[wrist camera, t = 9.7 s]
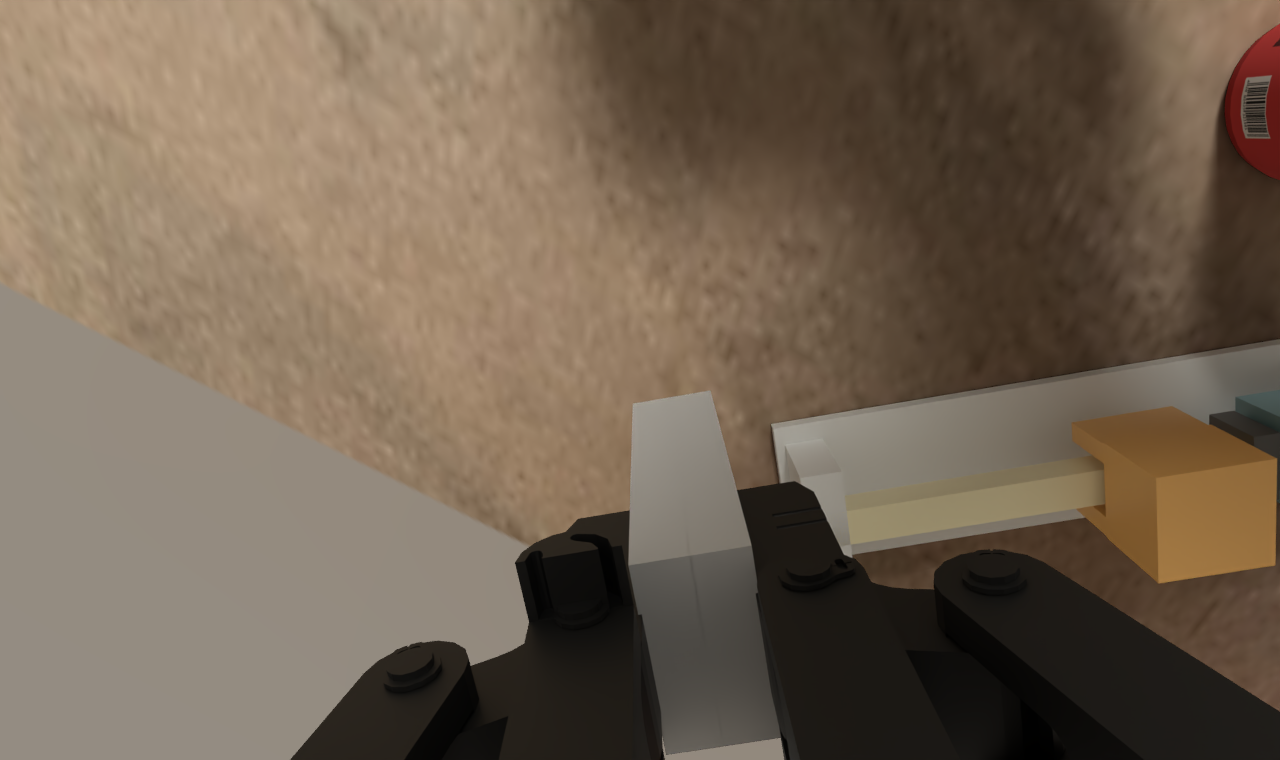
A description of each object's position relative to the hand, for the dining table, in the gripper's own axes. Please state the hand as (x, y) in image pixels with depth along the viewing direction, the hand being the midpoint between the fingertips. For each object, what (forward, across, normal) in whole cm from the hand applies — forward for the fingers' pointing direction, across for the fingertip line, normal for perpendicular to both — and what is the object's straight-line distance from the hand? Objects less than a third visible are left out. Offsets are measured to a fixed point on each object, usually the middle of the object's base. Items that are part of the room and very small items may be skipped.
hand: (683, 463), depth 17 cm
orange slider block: (+27, +22, -14) cm, 37 cm away
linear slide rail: (+29, +19, -14) cm, 38 cm away
